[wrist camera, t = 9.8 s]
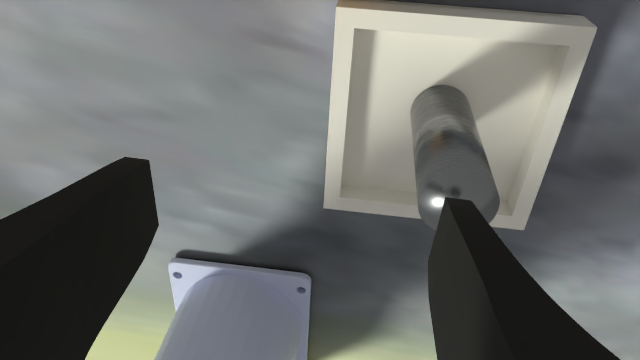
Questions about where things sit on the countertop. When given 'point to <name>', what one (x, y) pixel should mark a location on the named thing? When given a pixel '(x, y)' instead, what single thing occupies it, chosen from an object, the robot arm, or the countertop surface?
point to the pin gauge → (449, 155)
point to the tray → (453, 70)
